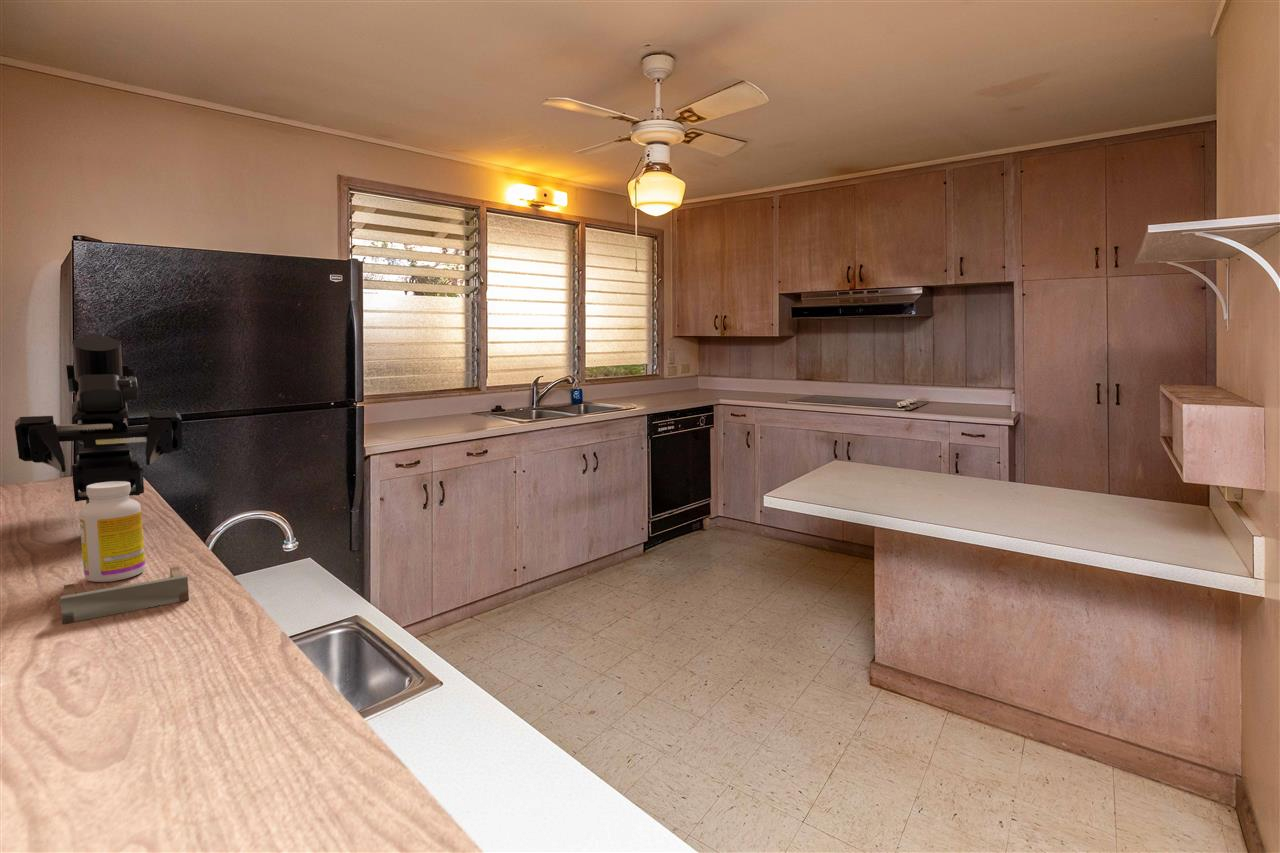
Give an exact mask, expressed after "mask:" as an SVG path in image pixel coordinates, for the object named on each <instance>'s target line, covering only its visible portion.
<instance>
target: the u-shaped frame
mask: <svg viewBox="0 0 1280 853" xmlns="http://www.w3.org/2000/svg"><path fill="white" fill-rule="evenodd" d="M169 572H170V573H169V574H170V577H166V578H162V579H154V580H148V581H143V582H137V583H131V584H126V585H119V586H114V587H108V588H101V589H96V590H91V591H85V592H84V591H83V592H78V593H76V586H75V583H71V584H64V585H63V594H62V595H61V596H60V598H59V599H60V600H59V601H60V608H61V620H62V622H61V623H62V625H65V624H70V623H75V622H80V621H86V620H92V619H96V618H102V617H106V616H107V617H108V616H112V615H117V614H123V613H128V612H133V611H138V610H139V611H140V610H144V609H148V607H150V608H153V607H154V606H155V607H159V606H158V605H160V606H164V605H169V604H174V603H181V602H185V601H189V600H190V597H189V596H190V595H189V581H188V579H189V578H188V575H187V574H184V575H183V573H182V571H181V569H180V566H175V567H169ZM155 607H154V608H155Z"/></svg>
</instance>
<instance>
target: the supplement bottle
mask: <svg viewBox="0 0 1280 853" xmlns="http://www.w3.org/2000/svg"><path fill="white" fill-rule="evenodd" d="M130 491H131V486H130V482H126V481H111V482H101V483H95V484H91V485H88V486H87V487H86V495H88V498H89V503H88V504H86V503H85V504H84V505H83V506H81V508H80V510H79V511H78V520H79V529H80V530H79V531H80V541H81V554H82V566H83V574H84V578H85V579H86V580H87V581H89V582H94V583H109V582H117V581H121V580H126V579H130V578H133V577H135V576H138V575H139V574H141V573H143V572H144V571H145V569H146V556H145V544H144V543H145V542H144V533H143V532H144V531H143V517H142V506H141V504H140V502H139V501H137V500H136V499H133V498H131V497H130V498H129V494H130Z"/></svg>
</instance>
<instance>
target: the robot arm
mask: <svg viewBox="0 0 1280 853" xmlns="http://www.w3.org/2000/svg"><path fill="white" fill-rule="evenodd" d="M71 348H72V349H71V350H72V358H73V364H66V374H67V384H68V391H69V393H74V397H75V400H74V401H73V402H72V403H71V406H70V410H71V412H70V414H71V423H70V424H68V423H67V424H56V423H54V422H55V421H54V416H53V415H37V416H35V415H34V416H20V417H18V418H17V419H16V420H15V421H14V433H15V438H16V445H17V446H16V447H17V455H18V459H19V460H21V461H23V462H33V463H36V464H39V463H42V464H45V465H48V466H49V467H52V468H54V469H56V470H57V471H59V472H61V473H65V472H66V469H67V468H66V460H65V459H66V458H65V456H64V451H63V448H62V446H61V442H62V443H64V442H77V441H78V443H79V444H83V445H80V447H78V455H77V456H76V463H72V464H71V471H72V472H71V474H72V485H73V496H74V502H76V503H77V502H81V501H85V505H86V504H88V503H89V498H88V495H86V487H87V486H88V485H91V484H95V483H101V482H111V481H126V482H130V486H131V491H130V494H129V498H130V499H131V497H130V496H140V495H141V494H144V493H145V484H144V467H143V466H141V465H140V463H138V459H133V456H132V452H131V450H130V447H129V443H130V444H132V443H146V447H145V464H146V466H150V465H152V464H154V462H155V461H156V460H157V459H158V458H160V457H162V456H163V455H166V454H168V455H169V454H171V453H172V452H178V451H179V450H181V449H182V448H183V438H182V437H183V436H182V435H183V431H182V430H183V427H182V426H183V423H182V422H183V420H182V416H181V414H180V413H179V412H177V410H172V411H171V410H170V411H149V412H148V419H147V425H138V426H137V425H136V426H134V425H132V426H130V424H129V423H130V421H129V419H130V418H129V410H128V409H129V408H128V403H131V402H132V401H138V400H139V387H138V386H139V385H138V380H137V377H136V376H135V377H134V369H131V368H130V367H129V364H123V359H122V343H121V341H120V340H117V339H115V338H112V337H109V336H108V337H107V336H105V334H104V333H87V335H86V336H81V337H77V338H75V339H74V340H71Z"/></svg>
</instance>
